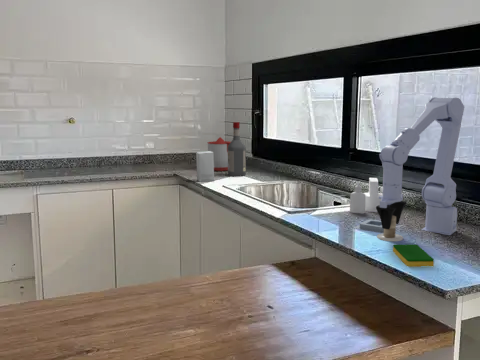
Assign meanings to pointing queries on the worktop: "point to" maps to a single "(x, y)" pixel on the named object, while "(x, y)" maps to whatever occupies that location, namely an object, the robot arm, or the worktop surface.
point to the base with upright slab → (372, 196)
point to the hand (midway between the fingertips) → (390, 226)
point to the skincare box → (205, 166)
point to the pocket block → (371, 226)
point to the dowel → (391, 229)
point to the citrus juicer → (219, 154)
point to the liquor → (236, 154)
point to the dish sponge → (413, 255)
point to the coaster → (397, 238)
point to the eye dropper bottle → (357, 200)
